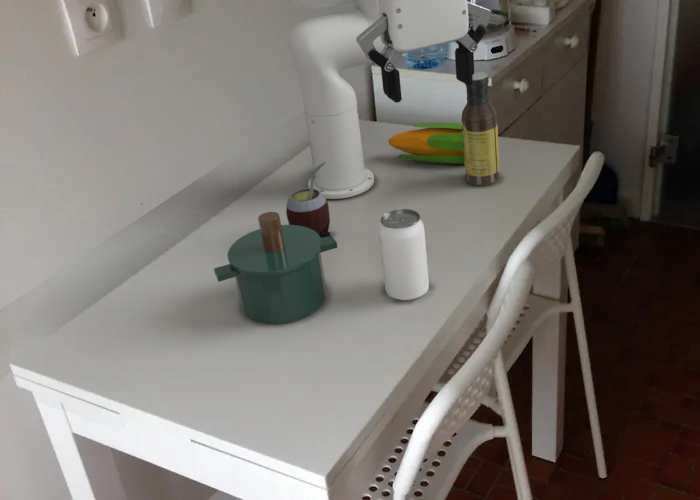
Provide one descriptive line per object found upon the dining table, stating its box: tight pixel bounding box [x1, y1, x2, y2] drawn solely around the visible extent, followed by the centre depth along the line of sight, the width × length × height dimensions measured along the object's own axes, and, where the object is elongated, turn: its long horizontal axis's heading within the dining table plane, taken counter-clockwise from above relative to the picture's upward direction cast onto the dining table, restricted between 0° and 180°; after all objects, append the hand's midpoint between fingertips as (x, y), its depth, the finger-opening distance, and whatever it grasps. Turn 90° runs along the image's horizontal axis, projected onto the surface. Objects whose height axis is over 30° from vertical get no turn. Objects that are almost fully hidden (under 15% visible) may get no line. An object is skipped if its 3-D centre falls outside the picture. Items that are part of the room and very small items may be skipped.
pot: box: [213, 235, 338, 325], centre depth 118 cm, size 13×18×8 cm
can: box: [378, 208, 430, 302], centre depth 116 cm, size 6×6×12 cm
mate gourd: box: [285, 162, 331, 238], centre depth 132 cm, size 8×8×15 cm
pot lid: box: [227, 211, 322, 276], centre depth 115 cm, size 14×14×6 cm
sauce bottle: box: [461, 71, 501, 186], centre depth 143 cm, size 6×6×20 cm
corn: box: [387, 121, 465, 165], centre depth 156 cm, size 7×8×20 cm
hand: (429, 90), depth 100 cm, fingers open, 9 cm apart
